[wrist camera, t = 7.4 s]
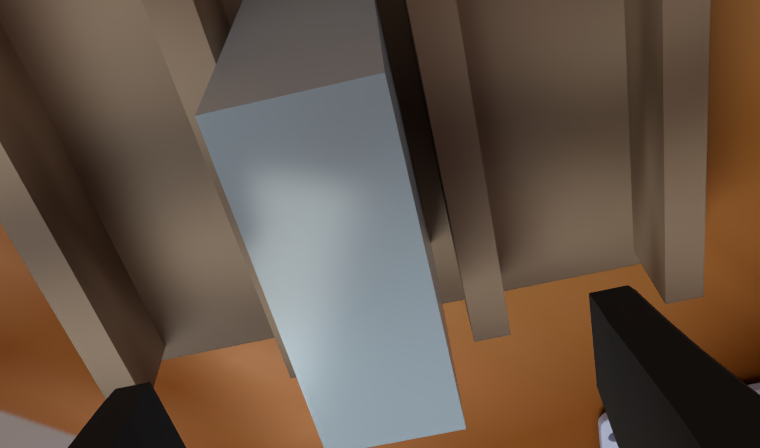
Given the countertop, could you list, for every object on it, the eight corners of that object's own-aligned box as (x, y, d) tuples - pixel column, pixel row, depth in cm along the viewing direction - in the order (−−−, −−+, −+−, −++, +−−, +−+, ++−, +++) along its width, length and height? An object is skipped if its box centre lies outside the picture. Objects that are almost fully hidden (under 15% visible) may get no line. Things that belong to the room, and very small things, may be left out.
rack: (678, 234, 23) (729, 305, 20) (128, 347, 24) (98, 429, 21) (678, -202, 16) (753, -194, 13) (-70, -15, 18) (-152, 29, 15)
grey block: (430, 243, 21) (465, 428, 15) (330, 263, 21) (326, 455, 15) (369, -35, 17) (384, 72, 11) (244, -6, 17) (194, 115, 11)
